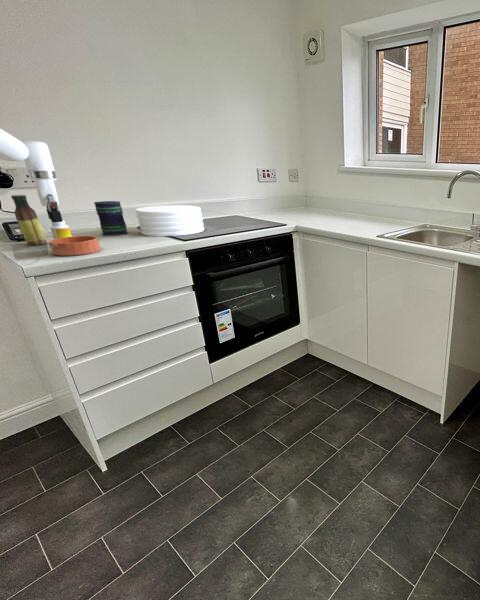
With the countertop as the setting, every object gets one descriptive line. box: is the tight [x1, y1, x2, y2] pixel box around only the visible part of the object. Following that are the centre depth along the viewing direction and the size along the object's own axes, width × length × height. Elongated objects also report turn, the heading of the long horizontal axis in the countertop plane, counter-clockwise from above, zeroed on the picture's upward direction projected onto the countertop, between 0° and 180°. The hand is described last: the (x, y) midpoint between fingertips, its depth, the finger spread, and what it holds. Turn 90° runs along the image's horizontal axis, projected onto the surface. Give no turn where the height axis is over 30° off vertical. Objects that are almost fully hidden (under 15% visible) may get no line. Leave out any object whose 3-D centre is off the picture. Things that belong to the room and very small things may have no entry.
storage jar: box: [93, 200, 129, 237], centre depth 168 cm, size 10×10×15 cm
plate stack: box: [135, 204, 205, 237], centre depth 180 cm, size 28×28×12 cm
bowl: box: [48, 235, 102, 257], centre depth 136 cm, size 14×14×5 cm
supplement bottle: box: [50, 219, 73, 239], centre depth 144 cm, size 6×6×10 cm
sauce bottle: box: [10, 194, 48, 246], centre depth 143 cm, size 6×6×20 cm
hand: (56, 220), depth 142 cm, fingers open, 9 cm apart
